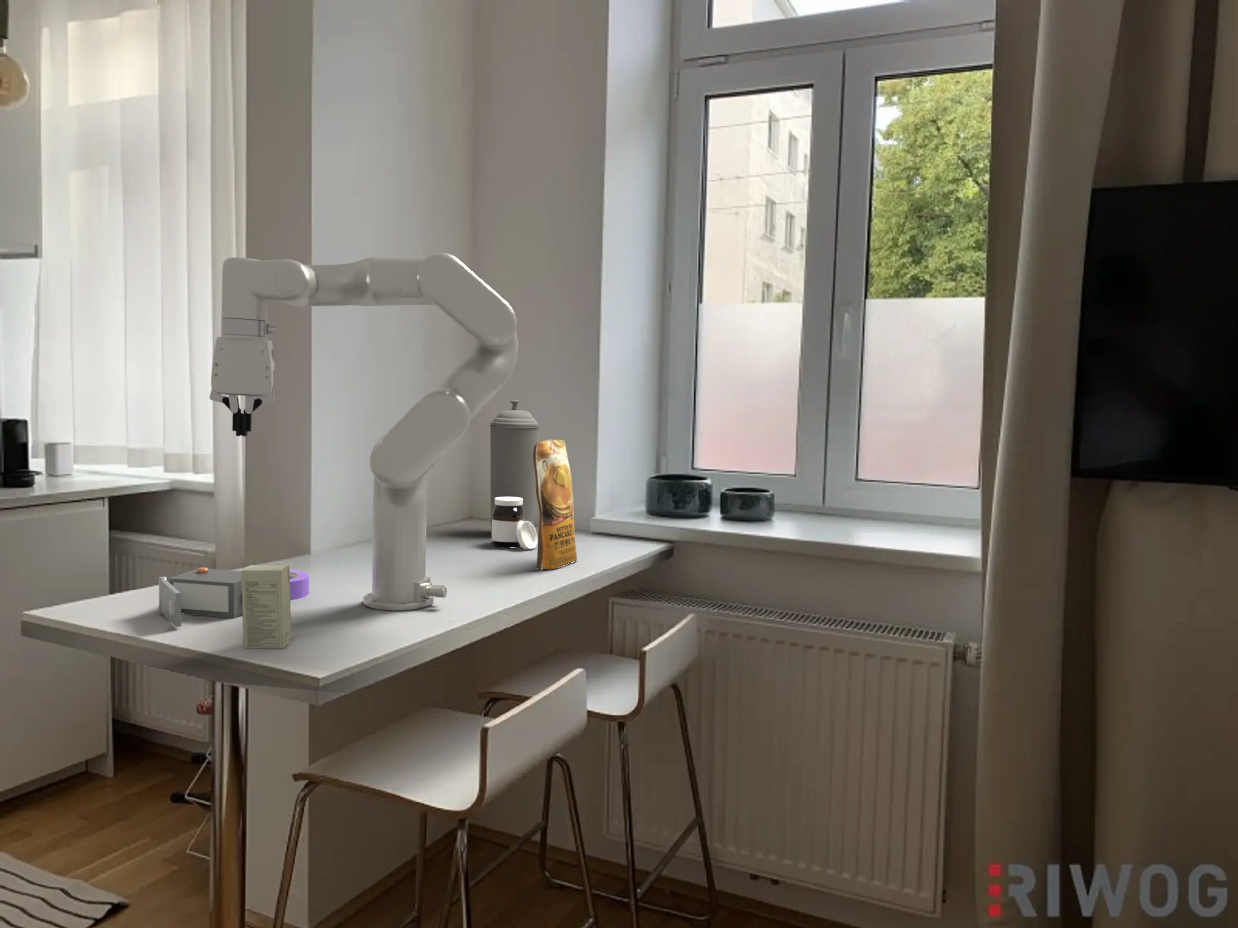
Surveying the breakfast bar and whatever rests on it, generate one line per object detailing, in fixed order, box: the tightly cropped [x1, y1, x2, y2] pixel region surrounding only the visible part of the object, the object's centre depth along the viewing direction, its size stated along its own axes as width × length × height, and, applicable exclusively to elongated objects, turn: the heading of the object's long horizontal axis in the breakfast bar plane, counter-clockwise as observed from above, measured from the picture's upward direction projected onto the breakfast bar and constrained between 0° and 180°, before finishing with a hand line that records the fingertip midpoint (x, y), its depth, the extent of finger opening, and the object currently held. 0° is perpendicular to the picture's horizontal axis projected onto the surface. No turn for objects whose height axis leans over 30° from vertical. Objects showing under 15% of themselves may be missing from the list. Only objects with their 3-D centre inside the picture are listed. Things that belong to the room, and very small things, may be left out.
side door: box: [158, 576, 182, 628], centre depth 164 cm, size 12×2×6 cm, turn 36°
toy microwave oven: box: [168, 566, 243, 619], centre depth 172 cm, size 13×9×7 cm
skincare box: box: [240, 564, 292, 649], centre depth 152 cm, size 6×4×12 cm
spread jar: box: [491, 497, 538, 550], centre depth 241 cm, size 12×11×12 cm
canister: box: [489, 399, 540, 534], centre depth 257 cm, size 13×13×35 cm
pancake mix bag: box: [533, 438, 578, 571], centre depth 221 cm, size 7×19×28 cm, turn 156°
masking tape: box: [289, 569, 310, 601], centre depth 185 cm, size 12×12×4 cm
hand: (241, 435), depth 174 cm, fingers closed
